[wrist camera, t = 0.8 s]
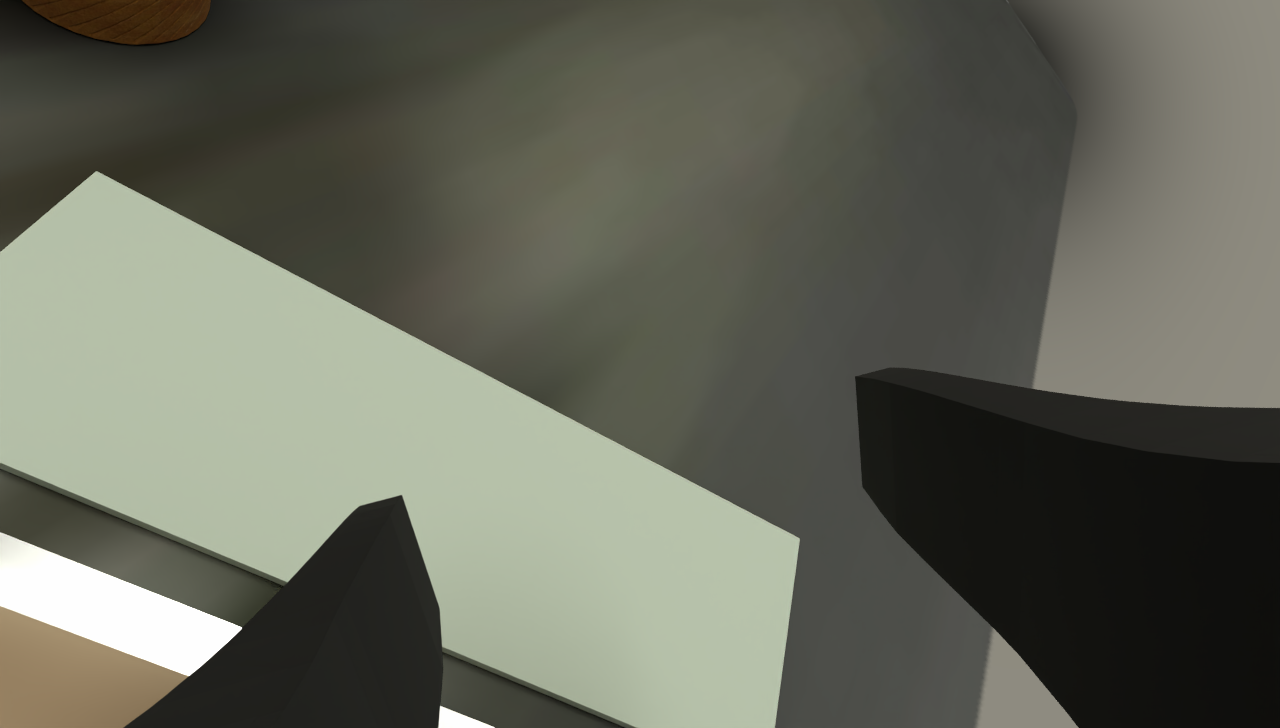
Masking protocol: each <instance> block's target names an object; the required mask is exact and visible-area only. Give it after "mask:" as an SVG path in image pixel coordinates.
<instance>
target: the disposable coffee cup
mask: <svg viewBox="0 0 1280 728" xmlns="http://www.w3.org/2000/svg"><path fill="white" fill-rule="evenodd" d="M22 1H23V2H24V3H25V4H27V5H28V6H29V7H30V8H32V9H33V10H34V11H35V12H37V13H38V14H40V15H42V16H43V17H45V18H47V19H48V20H50V21H51V22H53V23H55V24H57V25H60V26H62V27H64V28H66V29H69V30H71V31H73V32H76V33H79V34H82V35H85V36H88V37H92V38H95V39H100V40H106V41H111V42H116V43H124V44H136V45H139V44H155V43H163V42H167V41H172V40H176V39H179V38H181V37H184V36H187V35H189V34H190V33H192V32H193V31H195V30H196V29H198V28H199V27H200V25H201V24H202V23H203V22H204V21H205V20H206V17H207V15H208V12H209V10H210V2H211V0H22Z"/></svg>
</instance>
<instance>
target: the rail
mask: <svg viewBox="0 0 1280 728" xmlns="http://www.w3.org/2000/svg"><path fill="white" fill-rule="evenodd" d="M187 677H188V676H187V675H185V674H182V673H179V672H177V671H174V670H171V669H169V668H166V667H163V666H160V665H158V664H155V663H152V662H150V661H147V660H144V659H142V658H139V657H136V656H134V655H131V654H128V653H126V652H123V651H120V650H117V649H115V648H112V647H109V646H107V645H104V644H101V643H99V642H96V641H93V640H91V639H88V638H85V637H82V636H80V635H77V634H74V633H72V632H69V631H66V630H64V629H61V628H58V627H56V626H53V625H50V624H47V623H45V622H42V621H39V620H37V619H34V618H31V617H29V616H26V615H23V614H21V613H18V612H15V611H13V610H10V609H7V608H4V607H2V606H0V728H123V727H125V726H126V725H127V724H129V723H130V722H131V721H133V720H134V719H135V718H137V717H138V716H140V715H141V714H142V713H144V712H145V711H146V710H148V709H149V708H150V707H152V706H153V705H154V704H155V703H157V702H158V701H159V700H160V699H162V698H163V697H164V696H165V695H167V694H168V693H169V692H170V691H171V690H173V689H174V688H175V687H176V686H177V685H179V684H180V683H181V682H182V681H183V680H185V679H186V678H187Z"/></svg>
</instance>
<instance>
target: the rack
mask: <svg viewBox="0 0 1280 728" xmlns="http://www.w3.org/2000/svg"><path fill="white" fill-rule="evenodd" d="M0 606H2V607H4V608H7V609H10V610H13V611H15V612H18V613H21V614H23V615H26V616H29V617H31V618H34V619H37V620H39V621H42V622H45V623H47V624H50V625H53V626H56V627H58V628H61V629H64V630H66V631H69V632H72V633H74V634H77V635H80V636H82V637H85V638H88V639H91V640H93V641H96V642H99V643H101V644H104V645H107V646H109V647H112V648H115V649H117V650H120V651H123V652H126V653H128V654H131V655H134V656H136V657H139V658H142V659H144V660H147V661H150V662H152V663H155V664H158V665H160V666H163V667H166V668H169V669H171V670H174V671H177V672H179V673H182V674H185V675H187V676H189V675H191V674H192V673H193V672H194V671H195V670H197V669H198V668H199V667H200V666H201V665H203V664H204V663H205V662H206V661H207V660H208V659H209V658H210V657H212V656H213V655H214V654H215V653H216V652H217V651H218V650H219V649H221V648H222V647H223V646H224V645H225V644H226V643H227V642H228V641H229V640H230V639H231V638H232V637H234V636H235V635H236V634H237V633H238V632H239V631H240V630H241V629H242V628H241V627H239V626H236V625H234V624H231V623H229V622H226V621H224V620H221V619H219V618H216V617H213V616H211V615H208V614H206V613H203V612H201V611H198V610H196V609H193V608H191V607H188V606H186V605H183V604H181V603H178V602H175V601H173V600H170V599H168V598H165V597H163V596H160V595H158V594H155V593H153V592H150V591H148V590H145V589H142V588H140V587H137V586H135V585H132V584H130V583H127V582H125V581H122V580H120V579H117V578H115V577H112V576H110V575H107V574H104V573H102V572H99V571H97V570H94V569H92V568H89V567H87V566H84V565H82V564H79V563H77V562H74V561H72V560H69V559H66V558H64V557H61V556H59V555H56V554H54V553H51V552H49V551H46V550H44V549H41V548H39V547H36V546H34V545H31V544H28V543H26V542H23V541H21V540H18V539H16V538H13V537H11V536H8V535H6V534H3V533H1V532H0ZM438 728H495V727H492V726H490V725H487V724H485V723H482V722H480V721H477V720H475V719H472V718H469V717H467V716H464V715H462V714H459V713H457V712H454V711H452V710H449V709H447V708H444V707H442V706H440V715H439V727H438Z"/></svg>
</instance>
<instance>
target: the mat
mask: <svg viewBox="0 0 1280 728" xmlns="http://www.w3.org/2000/svg"><path fill="white" fill-rule="evenodd" d="M0 469H2V470H5V471H7V472H10V473H12V474H14V475H17V476H19V477H22V478H24V479H26V480H29V481H31V482H34V483H36V484H39V485H41V486H43V487H46V488H48V489H51V490H53V491H55V492H58V493H60V494H63V495H65V496H68V497H70V498H72V499H75V500H77V501H80V502H82V503H84V504H87V505H89V506H92V507H94V508H96V509H99V510H101V511H104V512H106V513H109V514H111V515H113V516H116V517H118V518H121V519H123V520H125V521H128V522H130V523H133V524H135V525H137V526H140V527H142V528H145V529H147V530H150V531H152V532H154V533H157V534H159V535H162V536H164V537H166V538H169V539H171V540H174V541H176V542H179V543H181V544H183V545H186V546H188V547H191V548H193V549H195V550H198V551H200V552H203V553H205V554H207V555H210V556H212V557H215V558H217V559H220V560H222V561H224V562H227V563H229V564H232V565H234V566H236V567H239V568H241V569H244V570H246V571H248V572H251V573H253V574H256V575H258V576H261V577H263V578H265V579H268V580H270V581H273V582H275V583H277V584H280V585H282V586H285V585H286V584H287V583H288V582H289V580H290V579H291V578H292V577H293V576H294V575H295V574H296V573H297V572H298V571H299V570H300V568H301V567H302V566H303V565H304V564H305V563H306V562H307V561H308V560H309V559H310V558H311V556H312V555H313V554H314V553H315V552H316V551H317V550H318V549H319V548H320V547H321V545H322V544H323V543H324V542H325V541H326V540H327V539H328V538H329V537H330V535H331V534H332V533H333V532H334V531H335V530H336V529H337V528H338V527H339V526H340V524H341V523H342V522H343V521H344V520H345V519H346V518H347V517H348V516H349V515H350V514H351V513H352V512H353V511H354V510H355V509H356V508H358V507H359V506H361V505H365V504H369V503H373V502H376V501H380V500H384V499H388V498H392V497H396V496H399V495H402V496H403V499H404V502H405V505H406V508H407V511H408V514H409V517H410V520H411V523H412V526H413V529H414V532H415V535H416V538H417V541H418V544H419V547H420V550H421V553H422V557H423V560H424V563H425V566H426V569H427V572H428V575H429V578H430V581H431V584H432V587H433V590H434V593H435V596H436V599H437V602H438V605H439V608H440V621H441V637H442V652H444V653H446V654H449V655H451V656H454V657H456V658H458V659H461V660H463V661H466V662H468V663H470V664H473V665H475V666H478V667H480V668H483V669H485V670H487V671H490V672H492V673H495V674H497V675H499V676H502V677H504V678H507V679H509V680H512V681H514V682H516V683H519V684H521V685H524V686H526V687H528V688H531V689H533V690H536V691H538V692H540V693H543V694H545V695H548V696H550V697H553V698H555V699H557V700H560V701H562V702H565V703H567V704H569V705H572V706H574V707H577V708H579V709H582V710H584V711H586V712H589V713H591V714H594V715H596V716H598V717H601V718H603V719H606V720H608V721H610V722H613V723H615V724H618V725H620V726H623V727H625V728H775V721H776V714H777V706H778V699H779V691H780V684H781V676H782V669H783V661H784V654H785V646H786V639H787V631H788V624H789V616H790V608H791V601H792V593H793V586H794V578H795V571H796V563H797V556H798V548H799V541H800V539H799V538H797V537H796V536H794V535H792V534H790V533H788V532H786V531H784V530H782V529H780V528H778V527H776V526H774V525H773V524H771V523H769V522H767V521H765V520H763V519H761V518H759V517H757V516H755V515H753V514H751V513H750V512H748V511H746V510H744V509H742V508H740V507H738V506H736V505H734V504H732V503H730V502H729V501H727V500H725V499H723V498H721V497H719V496H717V495H715V494H713V493H711V492H709V491H707V490H706V489H704V488H702V487H700V486H698V485H696V484H694V483H692V482H690V481H688V480H686V479H685V478H683V477H681V476H679V475H677V474H675V473H673V472H671V471H669V470H667V469H665V468H663V467H662V466H660V465H658V464H656V463H654V462H652V461H650V460H648V459H646V458H644V457H642V456H641V455H639V454H637V453H635V452H633V451H631V450H629V449H627V448H625V447H623V446H621V445H619V444H618V443H616V442H614V441H612V440H610V439H608V438H606V437H604V436H602V435H600V434H598V433H596V432H595V431H593V430H591V429H589V428H587V427H585V426H583V425H581V424H579V423H577V422H575V421H574V420H572V419H570V418H568V417H566V416H564V415H562V414H560V413H558V412H556V411H554V410H552V409H551V408H549V407H547V406H545V405H543V404H541V403H539V402H537V401H535V400H533V399H531V398H530V397H528V396H526V395H524V394H522V393H520V392H518V391H516V390H514V389H512V388H510V387H508V386H507V385H505V384H503V383H501V382H499V381H497V380H495V379H493V378H491V377H489V376H487V375H486V374H484V373H482V372H480V371H478V370H476V369H474V368H472V367H470V366H468V365H466V364H464V363H463V362H461V361H459V360H457V359H455V358H453V357H451V356H449V355H447V354H445V353H443V352H441V351H440V350H438V349H436V348H434V347H432V346H430V345H428V344H426V343H424V342H422V341H420V340H419V339H417V338H415V337H413V336H411V335H409V334H407V333H405V332H403V331H401V330H399V329H397V328H396V327H394V326H392V325H390V324H388V323H386V322H384V321H382V320H380V319H378V318H376V317H375V316H373V315H371V314H369V313H367V312H365V311H363V310H361V309H359V308H357V307H355V306H353V305H352V304H350V303H348V302H346V301H344V300H342V299H340V298H338V297H336V296H334V295H332V294H331V293H329V292H327V291H325V290H323V289H321V288H319V287H317V286H315V285H313V284H311V283H309V282H308V281H306V280H304V279H302V278H300V277H298V276H296V275H294V274H292V273H290V272H288V271H286V270H285V269H283V268H281V267H279V266H277V265H275V264H273V263H271V262H269V261H267V260H265V259H264V258H262V257H260V256H258V255H256V254H254V253H252V252H250V251H248V250H246V249H244V248H242V247H241V246H239V245H237V244H235V243H233V242H231V241H229V240H227V239H225V238H223V237H221V236H220V235H218V234H216V233H214V232H212V231H210V230H208V229H206V228H204V227H202V226H200V225H198V224H197V223H195V222H193V221H191V220H189V219H187V218H185V217H183V216H181V215H179V214H177V213H176V212H174V211H172V210H170V209H168V208H166V207H164V206H162V205H160V204H158V203H156V202H154V201H153V200H151V199H149V198H147V197H145V196H143V195H141V194H139V193H137V192H135V191H133V190H131V189H130V188H128V187H126V186H124V185H122V184H120V183H118V182H116V181H114V180H112V179H110V178H109V177H107V176H105V175H103V174H101V173H99V172H97V171H96V172H95V173H94V174H92V175H91V176H90V177H89V178H88V179H86V180H85V181H84V182H83V183H82V184H81V185H79V186H78V187H77V188H76V189H75V190H73V191H72V192H71V193H70V194H69V195H68V196H66V197H65V198H64V199H63V200H62V201H60V202H59V203H58V204H57V205H56V206H55V207H53V208H52V209H51V210H50V211H49V212H47V213H46V214H45V215H44V216H43V217H41V218H40V219H39V220H38V221H37V222H36V223H34V224H33V225H32V226H31V227H30V228H28V229H27V230H26V231H25V232H24V233H23V234H21V235H20V236H19V237H18V238H17V239H15V240H14V241H13V242H12V243H11V244H10V245H8V246H7V247H6V248H5V249H4V250H2V251H1V252H0Z"/></svg>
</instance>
